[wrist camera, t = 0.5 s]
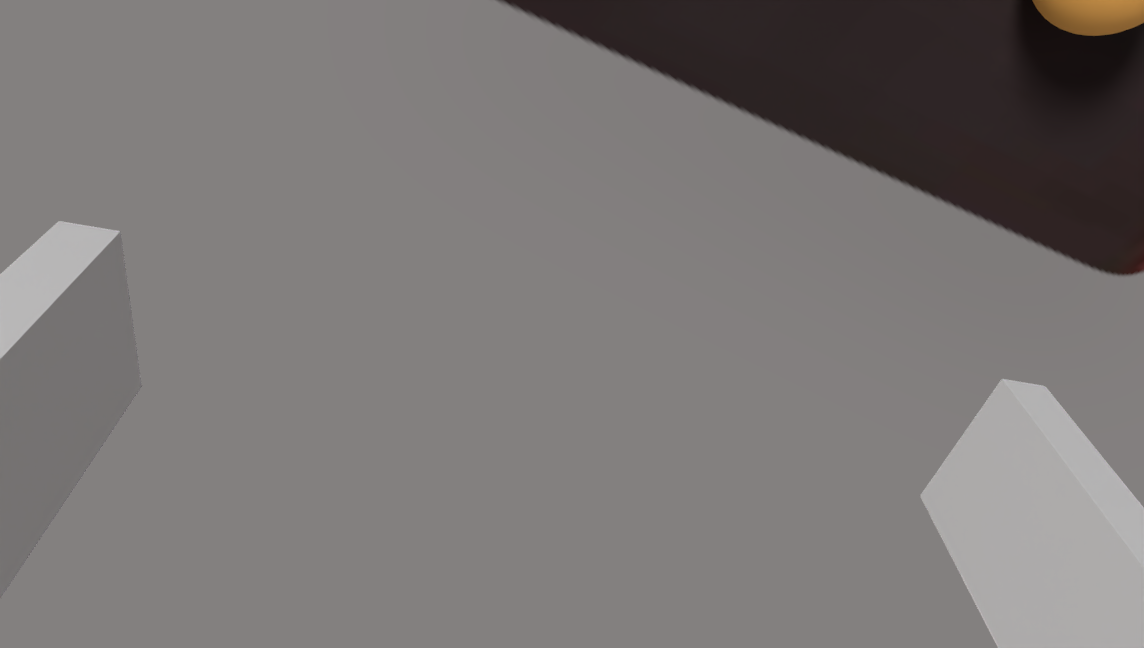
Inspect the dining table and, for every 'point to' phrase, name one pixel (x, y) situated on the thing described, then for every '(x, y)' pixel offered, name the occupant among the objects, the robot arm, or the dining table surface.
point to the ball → (1092, 15)
